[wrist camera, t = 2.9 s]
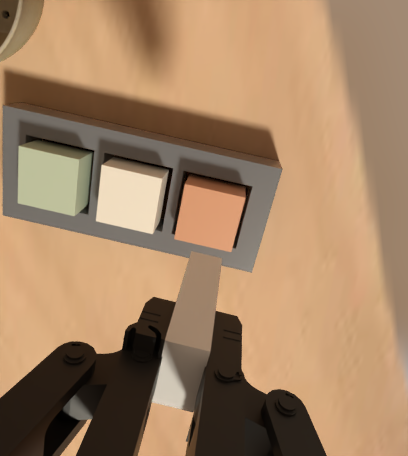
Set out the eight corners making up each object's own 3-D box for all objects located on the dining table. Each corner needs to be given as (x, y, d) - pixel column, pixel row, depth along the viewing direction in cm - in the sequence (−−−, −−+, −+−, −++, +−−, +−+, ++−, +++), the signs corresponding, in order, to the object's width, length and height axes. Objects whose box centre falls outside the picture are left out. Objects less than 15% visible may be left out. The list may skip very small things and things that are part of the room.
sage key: (35, 192, 29) (17, 203, 26) (37, 139, 27) (18, 145, 25) (88, 204, 28) (74, 216, 26) (92, 152, 27) (79, 159, 25)
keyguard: (20, 204, 31) (2, 215, 28) (22, 102, 28) (2, 105, 25) (251, 257, 31) (251, 272, 28) (279, 161, 27) (282, 169, 25)
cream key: (107, 209, 28) (95, 221, 26) (113, 156, 27) (101, 164, 25) (160, 221, 28) (152, 234, 26) (169, 169, 27) (162, 178, 25)
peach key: (179, 225, 28) (174, 239, 26) (189, 174, 27) (184, 183, 25) (232, 237, 28) (231, 252, 26) (245, 187, 27) (245, 197, 25)
